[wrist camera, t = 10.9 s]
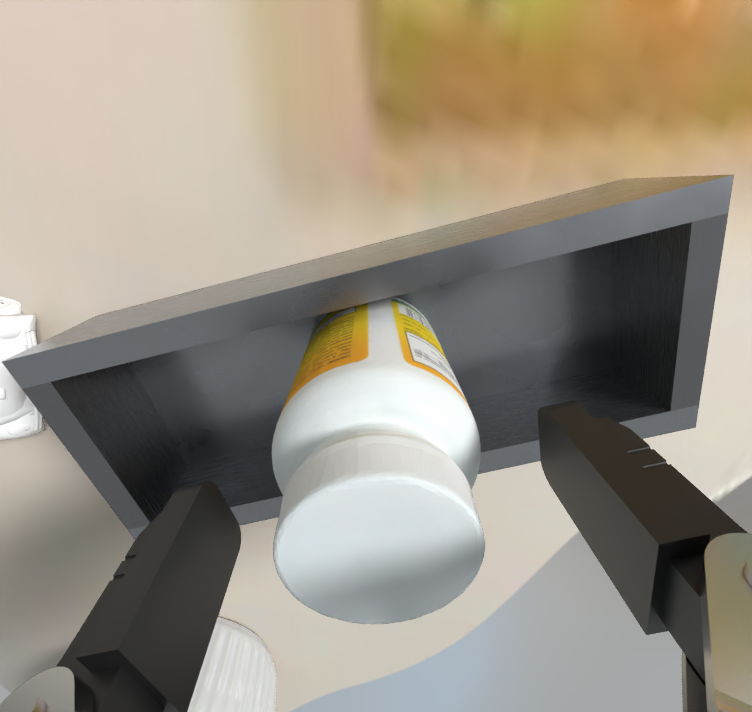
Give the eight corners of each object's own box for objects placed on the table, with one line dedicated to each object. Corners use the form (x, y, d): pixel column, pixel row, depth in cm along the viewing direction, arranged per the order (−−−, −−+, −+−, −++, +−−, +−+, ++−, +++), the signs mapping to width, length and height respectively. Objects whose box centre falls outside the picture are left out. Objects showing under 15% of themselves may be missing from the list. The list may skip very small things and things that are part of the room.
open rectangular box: (96, 315, 15) (1, 361, 11) (625, 178, 14) (734, 174, 10) (188, 469, 19) (140, 546, 15) (617, 372, 18) (695, 427, 14)
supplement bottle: (445, 296, 15) (567, 455, 6) (424, 410, 17) (491, 649, 8) (309, 284, 14) (225, 433, 6) (306, 402, 16) (242, 642, 8)
